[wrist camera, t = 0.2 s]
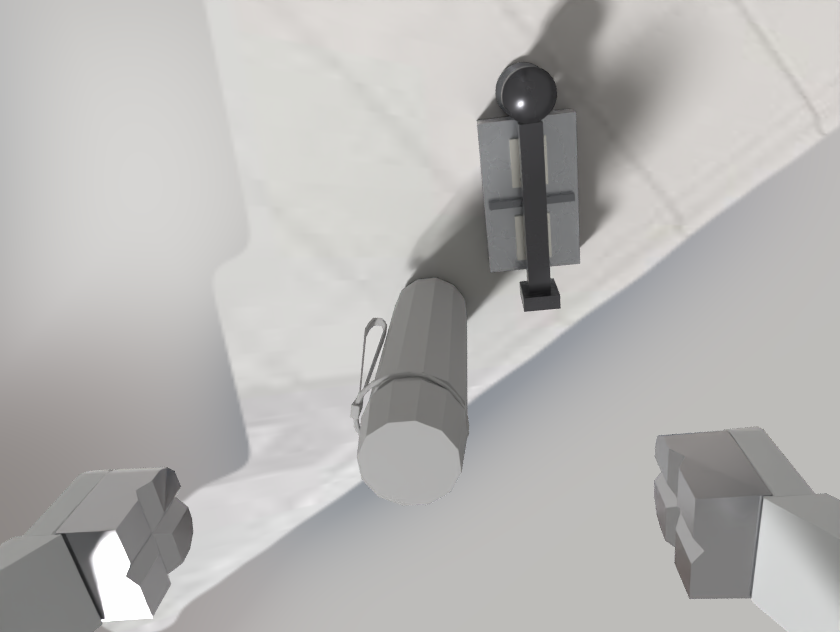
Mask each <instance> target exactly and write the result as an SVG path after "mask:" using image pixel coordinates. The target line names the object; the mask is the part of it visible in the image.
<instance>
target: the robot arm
mask: <svg viewBox="0 0 840 632" xmlns="http://www.w3.org/2000/svg"><path fill="white" fill-rule="evenodd" d="M655 448H656V449H655V458H656V460H657V463H658V465H659V467H660V469H661V473H660V474H659V475H658V477H657V478H656V479H655V480H654V486H655V487H654V488H655V489H654V497H655V505H656V512H657V517H658V521H659V524H660V528H661V531H662V533H663V536H664V538H665V541H667V542H669V543H670V544H671V545H672V546H674V547H675V562H674V563H675V565H676V568H677V570H678V573H679V575H680V577H681V580H682V582H683V584H684V587H685V589H686V592H687V594H688V596H689V599H711V598H712V599H715V598H716V599H717V598H752V599H751V601H752V602H753V603H754V604H755V605H757V606H758V607H759V608H760V609H761V610H762V611H764V612H765V613H766V614H767V615H768V616H770V617H771V618H772V619H773V620H774V621H776V622H777V623H778V624H779V625H780V626H782V627H783V628H784V629H785V630H786V631H787V632H840V500H839V499H837V498H835V497H832V496H831V495H828V494H826V493H825V494H815V493H814V492H813V491H812V489H811V488H810V487H809V485H808V484H807V483H806V482H805V480H804V479H803V478H802V477H801V475H800V474H799V473H798V472H797V471H796V469H795V468H794V467H793V466H792V464H791V463H790V462H789V461H788V459H787V458H786V457H785V456H784V454H783V453H782V452H781V451H780V449H779V448H778V447H777V446H776V444H775V443H774V442H773V441H772V439H771V438H770V437H769V436H768V434H767V433H766V432H765V431H764V429H761V428H759V427H747V428H737V429H726V430H723V431H713V432H699V433H685V434H672V435H659V436H657V440H656V446H655ZM180 487H181V485H180V483H179V481H178V478H177V476H176V473H175V471H173V470H171V469H170V468H168V467H159V468H136V469H115V470H98V471H88V472H85V473H82V474H80V475H79V476H78V477H77V478H76V479H75V480H74V481H73V482H72V483H71V484H70V486H69V487H68V488H67V489H66V490H65V491H64V492H63V493H62V494H61V495H60V496H59V497H58V499H57V500H56V501H55V502H54V503H53V504H52V505H51V506H50V507H49V508H48V509H47V510H46V511H45V513H44V514H43V515H42V516H41V517H40V518H39V519H38V520H37V521H36V522H35V523H34V524H33V526H32V527H31V528H30V529H29V530H28V531H27V532H26V533H25V534H24V535H23V536H20V537H13V538H11V539H9V540H7V541H6V542H4V543H2V544H0V632H94V631H95V630H96V629H97V628H99V627H100V626H101V625H102V621H112V620H127V619H142V618H152V617H153V616H154V614H155V612H156V610H157V608H158V607H159V605H160V603H161V601H162V599H163V598H164V596H165V594H166V592H167V590H168V589H169V587H170V585H171V582H170V579H169V575H168V574H169V573H170V572H171V571H173V570H174V569H175V568H177V567H178V566H179V565H181V564H182V563H183V562H184V560H185V558H186V556H187V554H188V552H189V550H190V546H191V541H192V536H193V524H192V517H191V514H190V511H189V508H188V507H187V506H186V505H185V504H184V503H183V502H181V501H180V500H179V499H178V498H177V497H176V496H177V494H178V492H179V489H180Z"/></svg>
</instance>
